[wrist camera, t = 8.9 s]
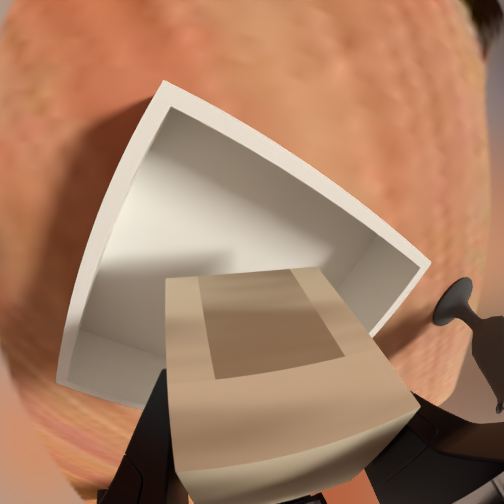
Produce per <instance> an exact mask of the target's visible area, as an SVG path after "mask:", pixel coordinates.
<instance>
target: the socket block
mask: <svg viewBox="0 0 504 504" xmlns="http://www.w3.org/2000/svg"><path fill="white" fill-rule="evenodd" d="M165 335H166V368H167V387H168V403H169V416H170V427H171V437H172V447H173V455H174V464H175V471H176V473H177V475H178V477H179V479H180V480H181V482H182V484H183V486H184V487H185V489H186V491H187V492H188V494H189V496H190V497H191V499H192V500H193V502H194V504H277V503H281V502H285V501H289V500H293V499H296V498H300V497H304V496H307V495H310V494H314V493H317V492H320V491H323V490H326V489H329V488H332V487H335V486H337V485H340V484H343V483H346V482H348V481H351V480H352V479H353V478H354V477H355V476H356V475H358V474H359V473H360V472H361V471H362V470H363V469H364V468H365V467H366V466H367V465H368V464H369V463H370V462H371V461H372V460H373V459H374V458H375V457H376V456H377V455H378V454H379V453H380V452H381V451H382V450H383V449H384V448H385V447H386V446H387V445H388V444H389V443H390V442H391V441H392V440H393V439H394V438H395V436H396V435H397V434H398V433H399V432H400V431H401V430H402V429H403V427H404V426H405V425H406V424H407V423H408V422H409V420H410V419H411V418H412V417H413V416H414V414H415V413H416V412H417V411H418V409H419V408H420V407H421V406H420V404H419V403H418V402H417V400H416V399H415V397H414V396H413V394H412V393H411V391H410V390H409V389H408V387H407V386H406V384H405V383H404V382H403V380H402V379H401V377H400V376H399V374H398V373H397V372H396V370H395V369H394V368H393V366H392V365H391V363H390V362H389V361H388V359H387V358H386V356H385V355H384V354H383V352H382V351H381V350H380V348H379V347H378V346H377V344H376V343H375V342H374V340H373V339H372V337H371V336H370V335H369V333H368V332H367V331H366V329H365V328H364V327H363V325H362V324H361V323H360V321H359V320H358V319H357V318H356V316H355V315H354V314H353V312H352V311H351V310H350V308H349V307H348V306H347V304H346V303H345V302H344V301H343V299H342V298H341V297H340V295H339V294H338V293H337V292H336V290H335V289H334V288H333V286H332V285H331V284H330V283H329V281H328V280H327V279H326V277H325V276H324V275H323V274H322V272H321V271H320V270H319V269H318V267H317V266H315V267H305V268H293V269H282V270H270V271H258V272H246V273H233V274H220V275H207V276H193V277H179V278H166V286H165Z"/></svg>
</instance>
